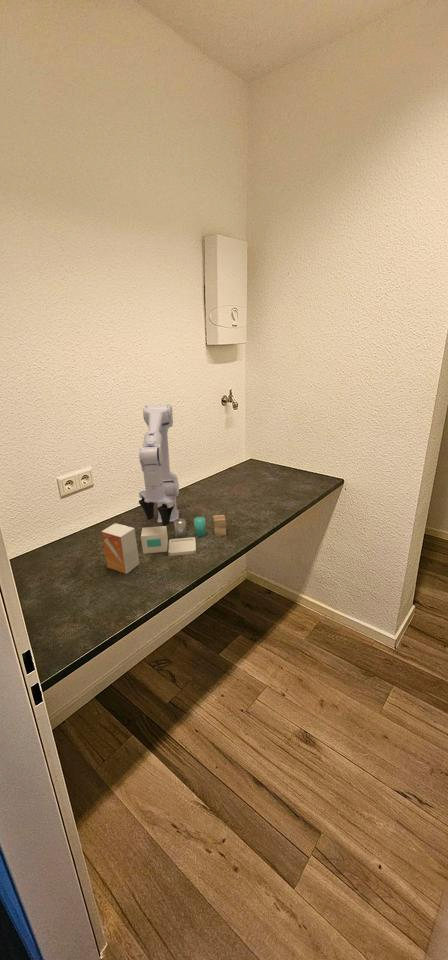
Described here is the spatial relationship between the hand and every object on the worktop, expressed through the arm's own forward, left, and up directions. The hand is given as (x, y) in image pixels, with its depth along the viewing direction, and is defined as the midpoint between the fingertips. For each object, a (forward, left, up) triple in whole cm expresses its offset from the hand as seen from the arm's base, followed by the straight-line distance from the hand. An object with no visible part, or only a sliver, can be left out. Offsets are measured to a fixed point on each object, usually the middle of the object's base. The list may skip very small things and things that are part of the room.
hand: (158, 521), depth 130 cm
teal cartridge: (-7, +14, -10) cm, 18 cm away
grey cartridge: (-7, +7, -10) cm, 14 cm away
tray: (+2, +7, -10) cm, 12 cm away
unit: (0, -2, -10) cm, 10 cm away
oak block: (-7, +21, -10) cm, 24 cm away
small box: (+10, -11, -10) cm, 18 cm away
